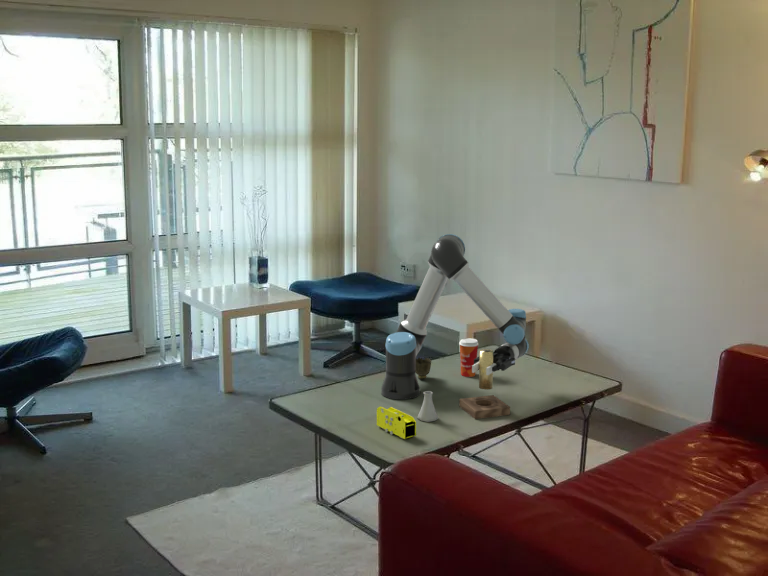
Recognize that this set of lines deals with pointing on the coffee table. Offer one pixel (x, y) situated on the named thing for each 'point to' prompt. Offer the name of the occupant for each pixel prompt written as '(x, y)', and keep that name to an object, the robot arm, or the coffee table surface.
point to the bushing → (485, 362)
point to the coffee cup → (468, 356)
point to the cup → (422, 367)
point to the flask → (427, 408)
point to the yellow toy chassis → (396, 422)
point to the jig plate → (484, 407)
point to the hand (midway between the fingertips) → (480, 370)
